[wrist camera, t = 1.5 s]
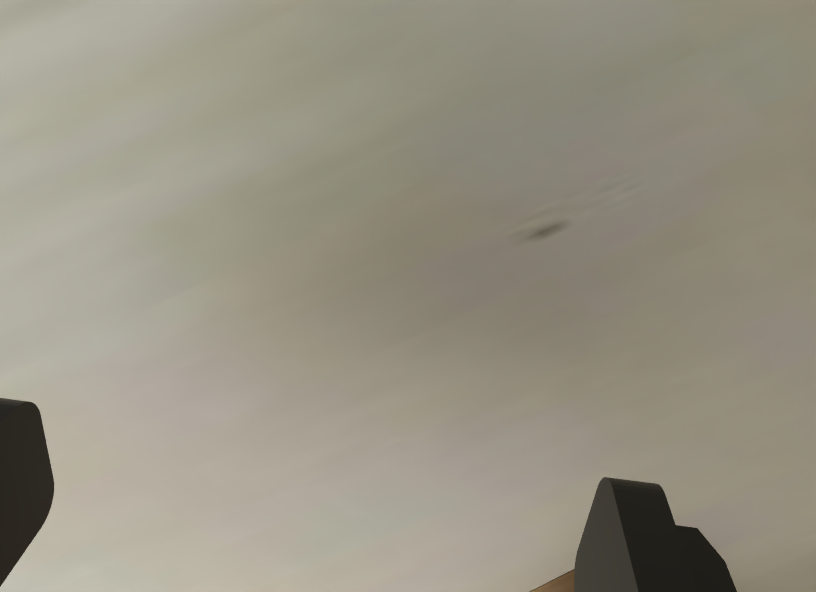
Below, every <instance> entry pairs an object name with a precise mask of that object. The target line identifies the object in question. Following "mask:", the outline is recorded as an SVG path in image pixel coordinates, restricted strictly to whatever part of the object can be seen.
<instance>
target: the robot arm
mask: <svg viewBox="0 0 816 592" xmlns="http://www.w3.org/2000/svg"><path fill="white" fill-rule="evenodd" d="M53 494H54V480H53V474H52V469H51V464H50V459H49V454H48V449H47V445H46V440H45V435H44V430H43V425H42V420H41V415H40V411H39V409H38V407H37V406H36V405H35V404H34V403H32V402H27V401H19V400H12V399H4V398H0V586H1V585H2V583H3V582H4V580H5V579H6V578H7V576H8V575H9V573H10V572H11V570H12V569H13V567H14V566H15V565H16V563H17V562H18V560H19V559H20V557H21V556H22V554H23V553H24V552H25V550H26V549H27V547H28V546H29V544H30V543H31V542H32V540H33V539H34V537H35V536H36V534H37V533H38V531H39V530H40V529H41V527H42V525H43V524H44V522H45V520H46V518H47V516H48V513H49V511H50V508H51V504H52V500H53ZM574 591H575V592H737V591H736V588H735V586H734V583H733V581H732V578H731V576H730V573H729V570H728V568H727V565H726V563H725V561H724V560H723V559H722V557H721V556H720V555H719V554H718V553H717V551H716V550H715V549H714V548H713V547H712V545H711V544H710V543H709V542H708V541H707V539H706V538H705V537H704V536H703V535H702V533H701V532H700V531H699V530H698V529H697V528H692V527H684V526H677V525H675V522H674V519H673V516H672V513H671V510H670V507H669V505H668V502H667V499H666V496H665V493H664V491H663V489H662V487H661V486H660V485H658V484H654V483H646V482H638V481H630V480H623V479H615V478H607V477H604V478H603V479H602V480H601V481H600V483H599V485H598V488H597V491H596V494H595V497H594V500H593V504H592V507H591V510H590V513H589V516H588V519H587V523H586V526H585V529H584V532H583V535H582V538H581V542H580V545H579V548H578V551H577V556H576V562H575V571H574Z"/></svg>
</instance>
